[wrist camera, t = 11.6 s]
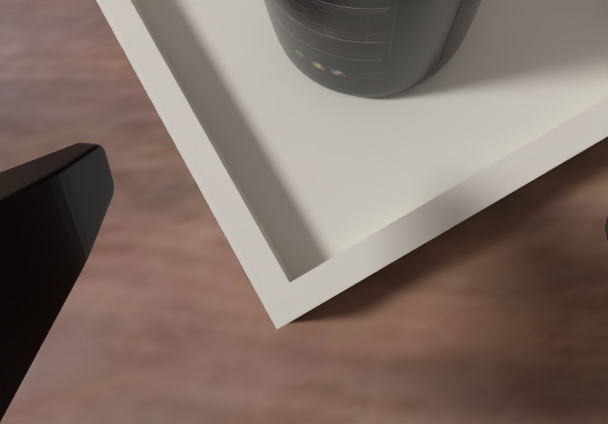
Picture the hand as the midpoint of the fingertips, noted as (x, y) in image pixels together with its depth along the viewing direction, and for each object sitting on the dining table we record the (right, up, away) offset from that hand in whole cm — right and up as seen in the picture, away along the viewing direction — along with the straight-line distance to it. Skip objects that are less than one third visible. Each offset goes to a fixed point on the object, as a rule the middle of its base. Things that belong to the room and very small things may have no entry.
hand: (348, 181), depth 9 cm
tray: (+2, +7, +10) cm, 12 cm away
